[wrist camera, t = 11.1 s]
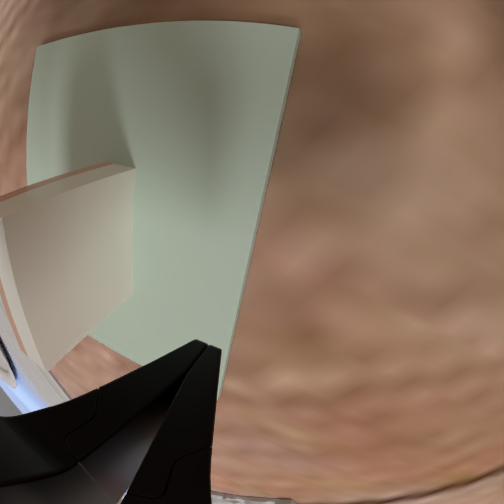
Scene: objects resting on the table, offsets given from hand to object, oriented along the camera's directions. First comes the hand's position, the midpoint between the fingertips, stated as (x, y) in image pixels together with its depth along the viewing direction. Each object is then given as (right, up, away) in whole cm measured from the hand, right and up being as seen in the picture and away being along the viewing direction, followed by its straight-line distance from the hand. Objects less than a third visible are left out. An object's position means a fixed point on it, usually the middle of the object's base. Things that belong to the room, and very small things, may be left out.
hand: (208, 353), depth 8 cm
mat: (-6, +5, +6) cm, 10 cm away
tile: (-6, +4, +6) cm, 9 cm away
